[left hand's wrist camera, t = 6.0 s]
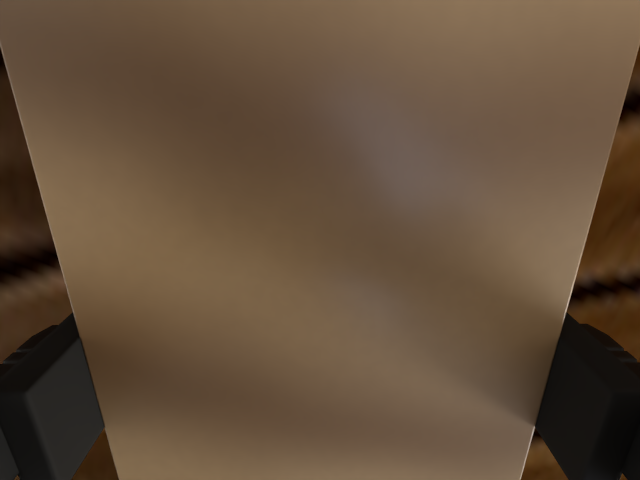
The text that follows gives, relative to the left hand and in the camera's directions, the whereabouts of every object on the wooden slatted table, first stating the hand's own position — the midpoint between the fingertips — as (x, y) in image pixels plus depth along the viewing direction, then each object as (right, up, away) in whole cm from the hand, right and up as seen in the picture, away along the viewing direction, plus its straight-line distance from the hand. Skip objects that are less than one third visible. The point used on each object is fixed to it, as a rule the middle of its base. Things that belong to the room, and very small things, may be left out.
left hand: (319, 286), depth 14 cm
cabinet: (0, +8, +2) cm, 8 cm away
